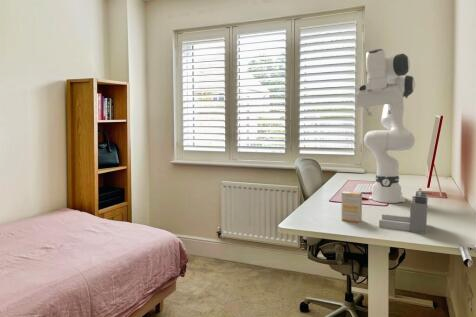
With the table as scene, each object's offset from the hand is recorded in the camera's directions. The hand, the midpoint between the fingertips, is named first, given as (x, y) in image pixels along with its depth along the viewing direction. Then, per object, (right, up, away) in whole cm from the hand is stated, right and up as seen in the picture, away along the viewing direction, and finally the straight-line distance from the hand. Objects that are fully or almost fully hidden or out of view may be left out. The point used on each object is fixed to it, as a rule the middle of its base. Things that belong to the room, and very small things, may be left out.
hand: (379, 115), depth 174 cm
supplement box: (-14, -49, -3) cm, 51 cm away
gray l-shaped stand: (+5, -49, -13) cm, 51 cm away
